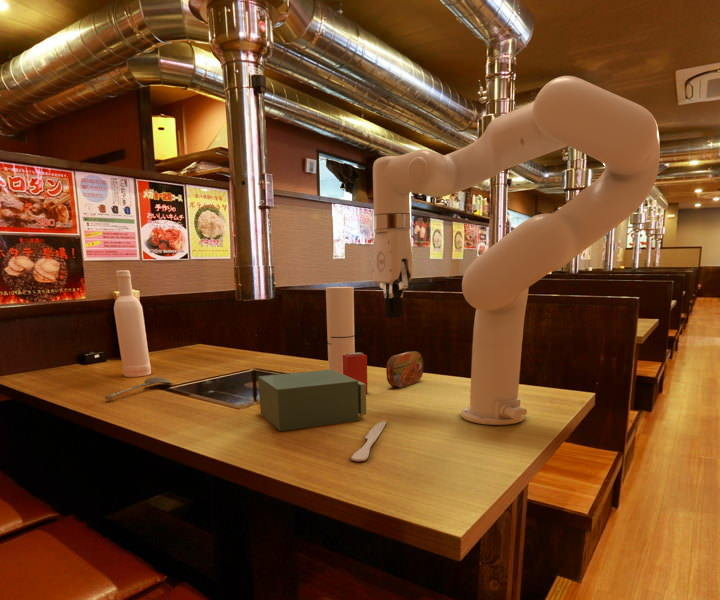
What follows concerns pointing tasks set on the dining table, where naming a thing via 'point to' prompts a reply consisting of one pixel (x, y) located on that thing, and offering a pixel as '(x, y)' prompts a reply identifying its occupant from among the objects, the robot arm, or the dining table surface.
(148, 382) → the soupspoon
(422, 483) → the dining table surface
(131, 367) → the bottle
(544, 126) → the robot arm
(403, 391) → the dining table surface
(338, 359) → the cylindrical container
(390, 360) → the tin
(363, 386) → the drawer
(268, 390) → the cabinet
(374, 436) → the butter knife
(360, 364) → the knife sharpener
